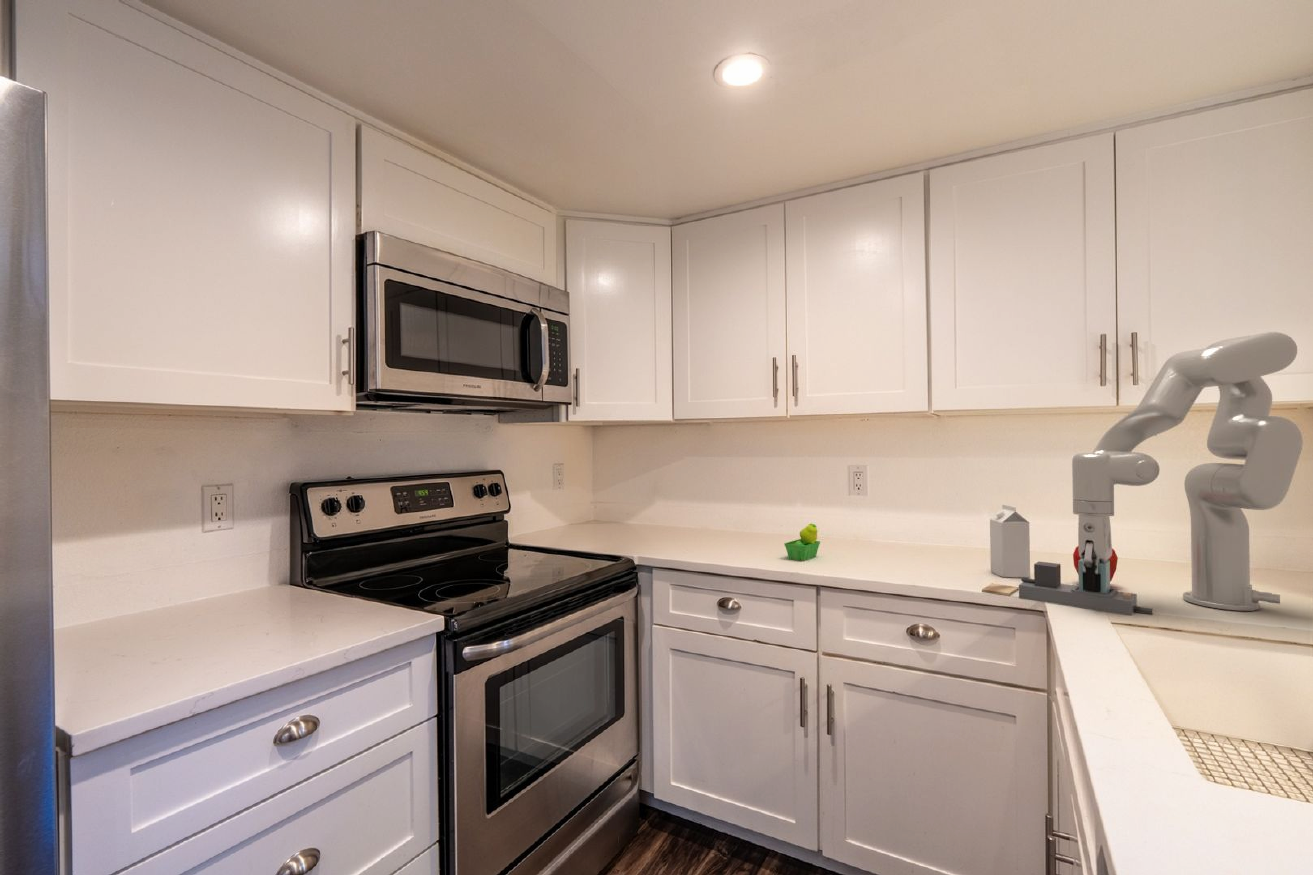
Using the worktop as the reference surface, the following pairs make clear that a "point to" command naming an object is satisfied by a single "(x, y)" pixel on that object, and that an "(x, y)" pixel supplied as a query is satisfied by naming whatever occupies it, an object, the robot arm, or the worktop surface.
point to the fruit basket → (804, 544)
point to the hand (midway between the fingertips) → (1094, 587)
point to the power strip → (1075, 592)
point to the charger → (1103, 570)
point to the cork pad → (1000, 589)
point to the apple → (1076, 558)
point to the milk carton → (1009, 543)
